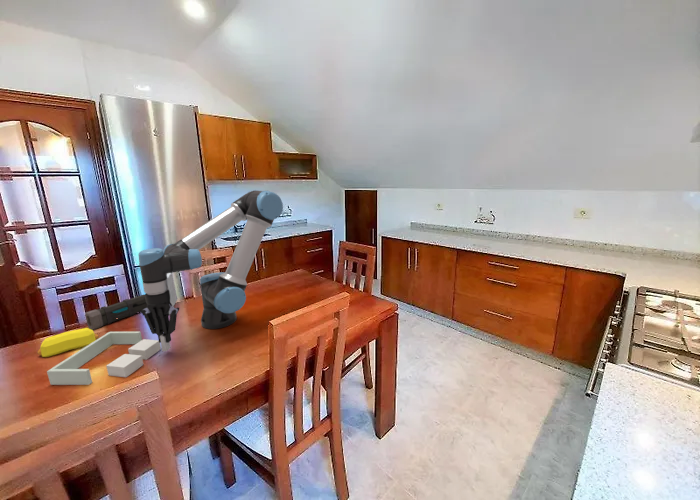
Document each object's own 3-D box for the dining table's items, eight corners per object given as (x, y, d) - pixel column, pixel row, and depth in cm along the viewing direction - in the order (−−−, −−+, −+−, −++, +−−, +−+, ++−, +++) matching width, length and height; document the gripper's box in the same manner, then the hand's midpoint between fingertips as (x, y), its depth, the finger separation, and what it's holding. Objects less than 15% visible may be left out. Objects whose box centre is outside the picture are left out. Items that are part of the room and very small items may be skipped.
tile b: (143, 365, 107) (141, 355, 106) (126, 377, 100) (124, 367, 99) (126, 363, 108) (124, 353, 107) (108, 375, 102) (106, 365, 101)
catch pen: (142, 342, 122) (140, 331, 120) (89, 384, 97) (85, 371, 96) (111, 342, 122) (109, 331, 121) (50, 384, 97) (46, 371, 96)
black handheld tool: (162, 312, 156) (93, 331, 130) (155, 312, 159) (86, 331, 133) (159, 291, 156) (88, 306, 130) (152, 292, 159) (81, 307, 133)
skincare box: (166, 300, 164) (161, 272, 160) (177, 299, 166) (173, 271, 162) (156, 316, 144) (151, 285, 141) (169, 314, 146) (164, 284, 143)
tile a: (161, 349, 117) (159, 340, 116) (146, 360, 110) (144, 350, 109) (145, 348, 118) (143, 339, 117) (130, 358, 111) (128, 349, 110)
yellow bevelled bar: (39, 353, 115) (37, 361, 110) (35, 337, 114) (32, 345, 108) (99, 336, 127) (100, 344, 121) (96, 322, 125) (96, 329, 120)
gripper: (180, 287, 112) (188, 344, 117) (146, 287, 112) (155, 344, 117) (168, 295, 104) (177, 355, 110) (131, 295, 104) (142, 355, 110)
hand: (166, 349), depth 113 cm, fingers closed
